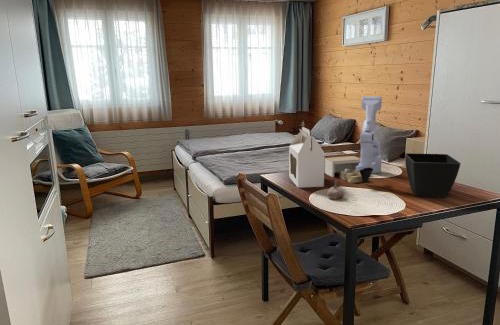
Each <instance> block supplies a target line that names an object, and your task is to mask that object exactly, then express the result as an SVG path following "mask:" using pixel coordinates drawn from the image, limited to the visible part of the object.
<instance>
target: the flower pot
mask: <svg viewBox="0 0 500 325" xmlns="http://www.w3.org/2000/svg"><path fill="white" fill-rule="evenodd" d="M404 156H405V159H404V161H405V168H406V174H407V179H408V180H407V181H408V184H409V187H410V190H411V191H412V193H413V194H414V196H416V197H418V198H419V197H421V198H442V199H443V198H445V199H447V197H448V195H449V194H450V192H451V190H452V188H453V186H454V184H455V182H456V179H457V176H458V175H459V170H460V168H461V162H459V161H458V160H457V159H455V158H454V157H452V156H450V155H449V154H446V153H407V152H406V153H405V154H404Z"/></svg>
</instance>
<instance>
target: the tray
mask: <svg viewBox="0 0 500 325" xmlns="http://www.w3.org/2000/svg"><path fill="white" fill-rule="evenodd" d="M339 179H340V180H343V181H345V182H349V183H350V184H355V183H363V181H362V176H361V174H360V172H359V171H356V170H353V171H350V169H345V171H341V172H339ZM368 182H370V179H369V180H368Z"/></svg>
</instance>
